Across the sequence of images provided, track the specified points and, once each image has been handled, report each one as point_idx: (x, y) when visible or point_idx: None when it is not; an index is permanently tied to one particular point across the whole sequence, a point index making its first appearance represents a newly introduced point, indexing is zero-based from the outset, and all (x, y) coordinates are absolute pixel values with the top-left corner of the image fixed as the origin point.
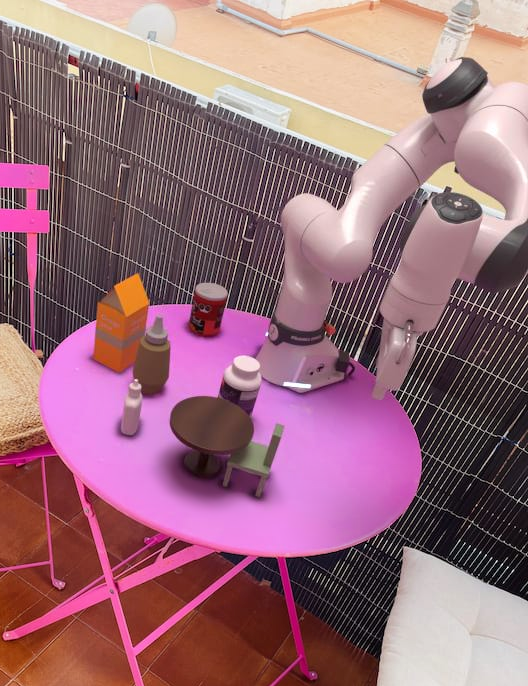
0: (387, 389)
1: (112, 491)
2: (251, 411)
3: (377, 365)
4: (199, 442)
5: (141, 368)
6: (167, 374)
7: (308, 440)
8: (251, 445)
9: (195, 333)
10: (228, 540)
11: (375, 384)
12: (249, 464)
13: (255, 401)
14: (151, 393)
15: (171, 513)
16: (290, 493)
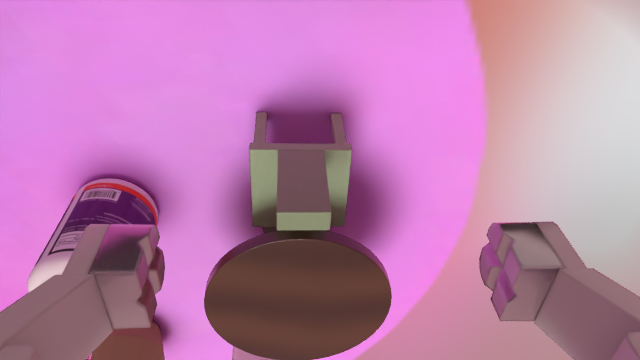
0: (634, 298)
1: (412, 302)
2: (112, 202)
3: (160, 274)
4: (376, 310)
5: None
6: (123, 347)
7: (68, 35)
8: (268, 198)
9: None
10: (477, 142)
11: (507, 319)
12: (336, 190)
13: (93, 217)
14: (155, 326)
15: (435, 231)
16: (299, 52)
